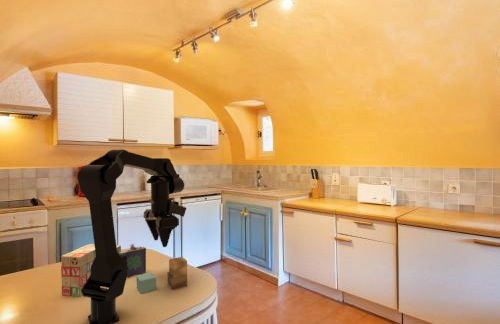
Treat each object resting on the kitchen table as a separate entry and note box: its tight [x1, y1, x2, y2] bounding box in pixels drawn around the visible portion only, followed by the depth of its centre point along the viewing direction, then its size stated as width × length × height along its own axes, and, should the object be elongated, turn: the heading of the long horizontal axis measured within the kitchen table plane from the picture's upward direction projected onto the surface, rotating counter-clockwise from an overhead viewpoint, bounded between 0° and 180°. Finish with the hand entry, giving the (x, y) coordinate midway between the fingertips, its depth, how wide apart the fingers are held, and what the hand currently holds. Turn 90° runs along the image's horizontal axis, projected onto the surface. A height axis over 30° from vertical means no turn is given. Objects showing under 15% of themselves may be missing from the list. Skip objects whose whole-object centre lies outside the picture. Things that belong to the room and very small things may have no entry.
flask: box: [119, 243, 147, 278], centre depth 104 cm, size 9×3×11 cm, turn 133°
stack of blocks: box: [60, 243, 122, 298], centre depth 98 cm, size 21×6×12 cm, turn 171°
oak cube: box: [168, 256, 188, 277], centre depth 96 cm, size 4×4×4 cm
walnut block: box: [167, 272, 188, 291], centre depth 96 cm, size 5×5×4 cm
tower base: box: [136, 272, 157, 294], centre depth 93 cm, size 5×5×4 cm
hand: (160, 243), depth 98 cm, fingers open, 9 cm apart
